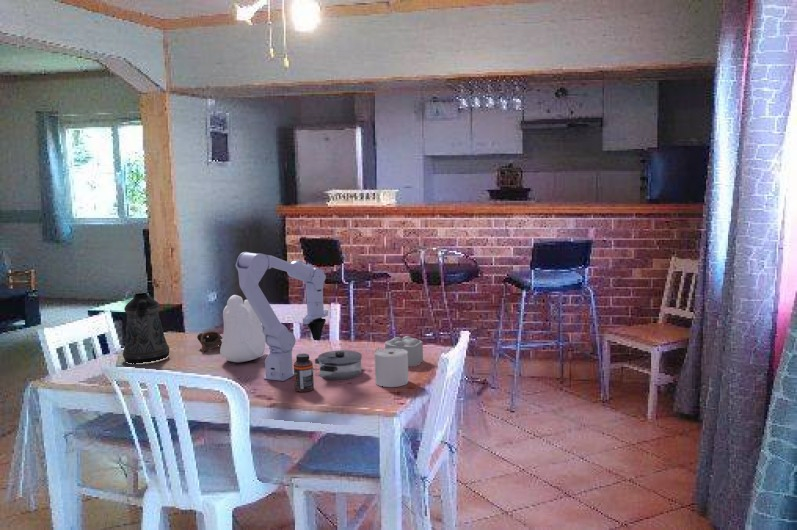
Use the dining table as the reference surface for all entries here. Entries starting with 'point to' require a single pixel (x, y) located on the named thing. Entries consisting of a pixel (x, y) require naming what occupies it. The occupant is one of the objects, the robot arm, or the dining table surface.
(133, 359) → the dark grey flared piece
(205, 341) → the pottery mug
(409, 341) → the grey lumpy container
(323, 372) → the cooker pot
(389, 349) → the toilet tissue
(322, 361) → the cooker lid
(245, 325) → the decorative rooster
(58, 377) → the dining table surface
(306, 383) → the supplement bottle
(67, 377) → the dining table surface
